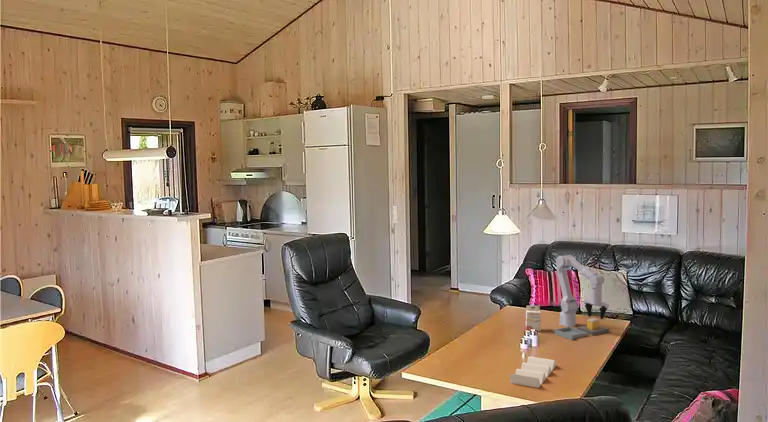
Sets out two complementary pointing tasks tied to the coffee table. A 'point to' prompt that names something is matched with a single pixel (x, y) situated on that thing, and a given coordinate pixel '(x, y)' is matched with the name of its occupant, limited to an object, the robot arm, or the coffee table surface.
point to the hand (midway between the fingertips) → (595, 317)
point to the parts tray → (570, 333)
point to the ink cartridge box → (533, 318)
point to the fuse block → (595, 331)
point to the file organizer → (533, 372)
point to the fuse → (593, 324)
